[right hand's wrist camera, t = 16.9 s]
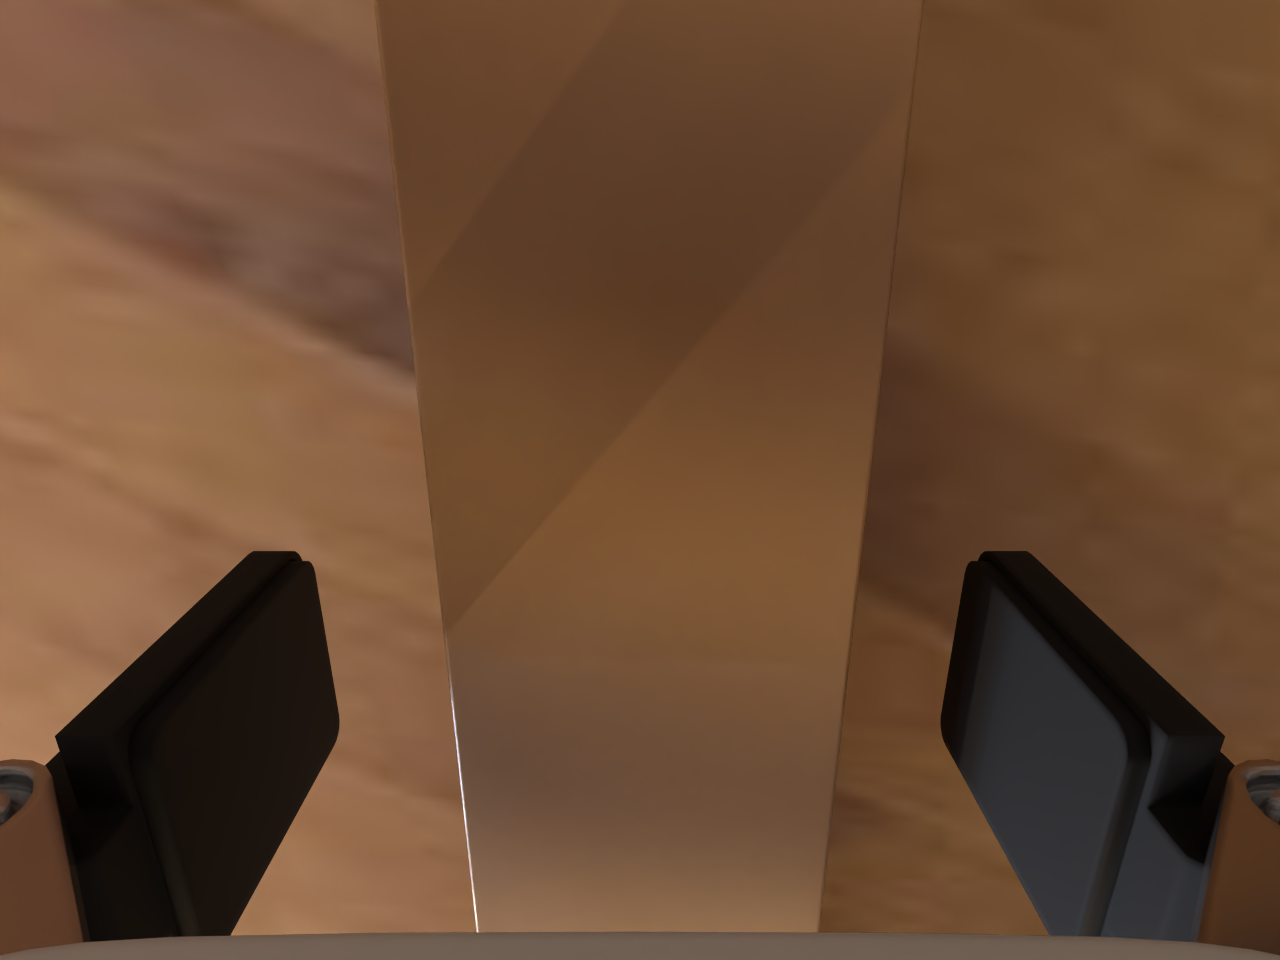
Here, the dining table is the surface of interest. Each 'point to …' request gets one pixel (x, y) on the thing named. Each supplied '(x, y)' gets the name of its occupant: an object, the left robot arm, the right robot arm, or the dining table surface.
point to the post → (648, 429)
